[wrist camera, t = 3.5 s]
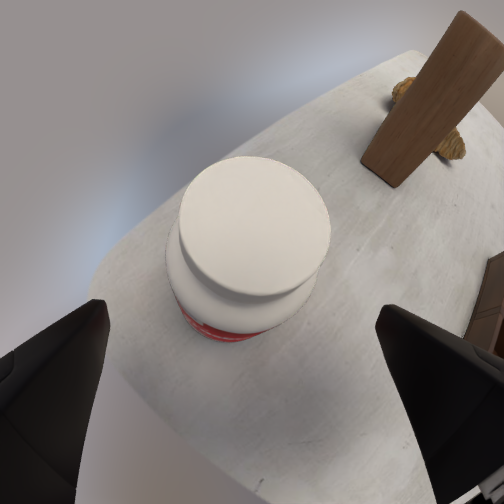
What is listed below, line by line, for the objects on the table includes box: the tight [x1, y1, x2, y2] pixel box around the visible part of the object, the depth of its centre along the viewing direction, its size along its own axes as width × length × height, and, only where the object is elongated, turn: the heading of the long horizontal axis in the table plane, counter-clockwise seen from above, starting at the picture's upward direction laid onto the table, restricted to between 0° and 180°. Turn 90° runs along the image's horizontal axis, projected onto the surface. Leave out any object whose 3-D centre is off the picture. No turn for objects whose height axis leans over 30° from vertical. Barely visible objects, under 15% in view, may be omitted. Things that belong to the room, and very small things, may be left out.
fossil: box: [392, 77, 466, 160], centre depth 28 cm, size 12×6×9 cm
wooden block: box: [361, 11, 504, 188], centre depth 18 cm, size 9×4×18 cm, turn 145°
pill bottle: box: [165, 156, 331, 342], centre depth 13 cm, size 6×6×11 cm
